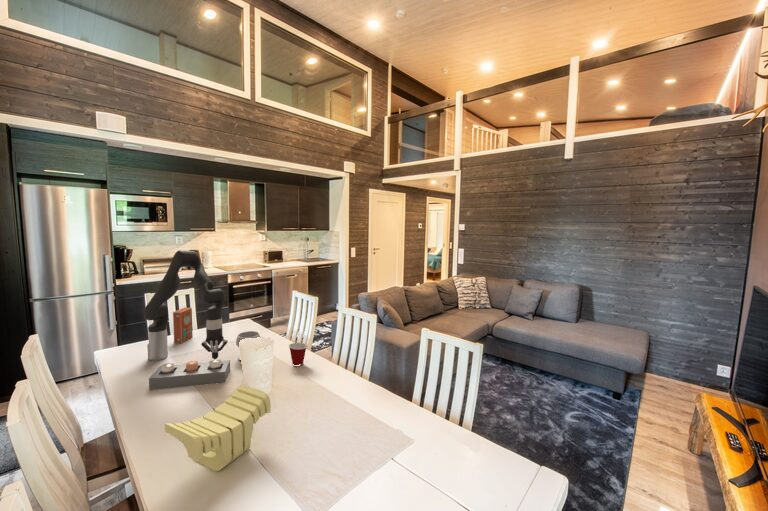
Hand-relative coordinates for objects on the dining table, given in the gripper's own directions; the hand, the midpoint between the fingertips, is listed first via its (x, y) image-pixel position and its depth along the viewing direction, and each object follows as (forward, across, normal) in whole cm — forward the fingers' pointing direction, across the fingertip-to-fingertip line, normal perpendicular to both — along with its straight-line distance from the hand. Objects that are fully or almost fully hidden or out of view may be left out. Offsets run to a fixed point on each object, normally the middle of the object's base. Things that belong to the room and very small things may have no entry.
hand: (215, 358), depth 174 cm
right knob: (+7, 0, 0) cm, 7 cm away
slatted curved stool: (+11, -15, +64) cm, 67 cm away
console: (+10, +11, 0) cm, 15 cm away
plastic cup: (+11, -43, -7) cm, 45 cm away
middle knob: (+7, +11, 0) cm, 13 cm away
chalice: (+11, -14, -23) cm, 29 cm away
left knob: (+6, +22, 0) cm, 23 cm away
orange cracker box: (+11, +33, -65) cm, 74 cm away
